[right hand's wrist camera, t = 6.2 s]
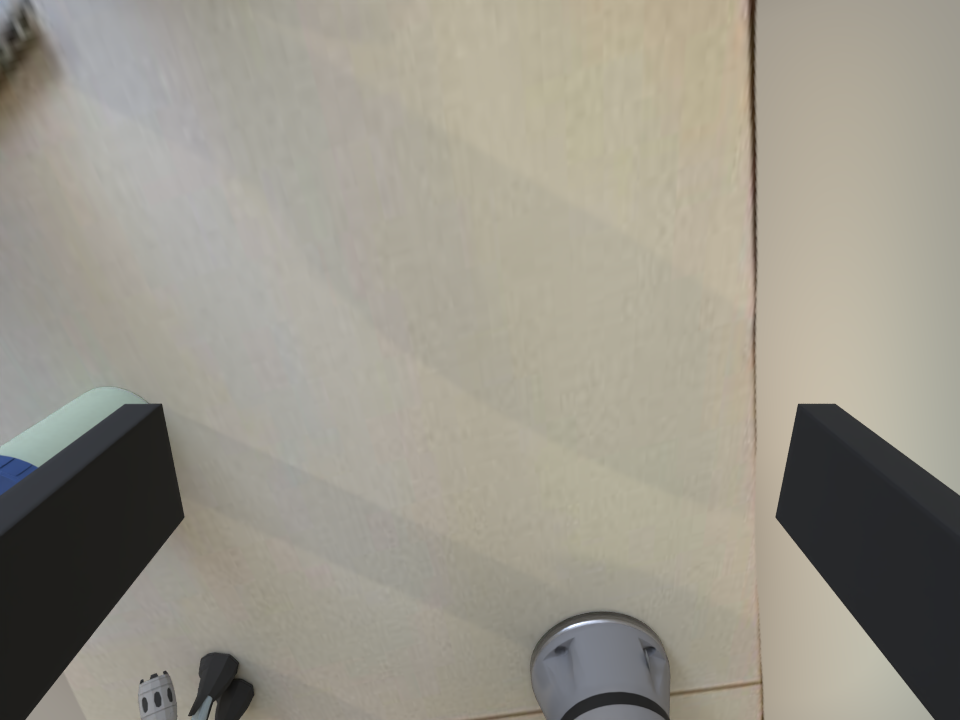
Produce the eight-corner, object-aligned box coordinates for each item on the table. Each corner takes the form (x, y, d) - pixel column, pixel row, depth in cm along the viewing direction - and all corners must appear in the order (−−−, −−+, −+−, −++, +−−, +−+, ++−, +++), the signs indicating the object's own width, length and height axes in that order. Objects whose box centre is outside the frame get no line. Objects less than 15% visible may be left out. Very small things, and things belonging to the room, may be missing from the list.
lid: (82, 471, 43) (63, 486, 41) (77, 579, 47) (59, 598, 45) (-62, 439, 42) (-88, 454, 40) (-56, 551, 46) (-80, 570, 44)
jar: (167, 398, 56) (58, 488, 42) (160, 476, 59) (55, 586, 45) (72, 376, 56) (-73, 460, 41) (69, 457, 59) (-67, 561, 44)
